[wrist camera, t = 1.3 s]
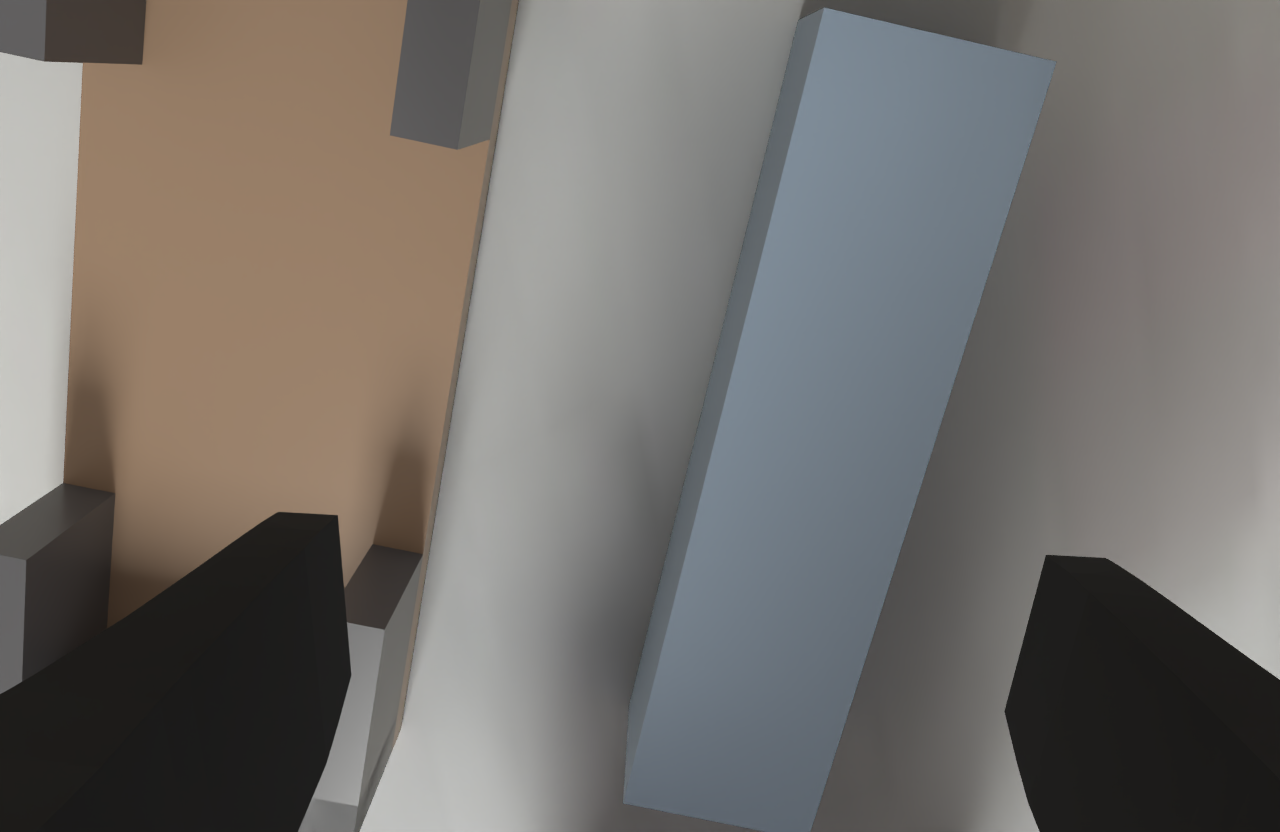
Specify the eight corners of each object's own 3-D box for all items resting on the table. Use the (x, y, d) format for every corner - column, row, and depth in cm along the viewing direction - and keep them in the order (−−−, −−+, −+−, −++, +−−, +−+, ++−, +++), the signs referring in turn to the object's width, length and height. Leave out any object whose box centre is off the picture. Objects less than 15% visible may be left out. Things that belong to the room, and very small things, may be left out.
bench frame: (541, -142, 18) (510, -200, 14) (400, 729, 23) (350, 851, 19) (122, -237, 17) (-21, -321, 14) (74, 667, 23) (-39, 780, 19)
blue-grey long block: (987, 65, 19) (1056, 62, 16) (787, 730, 23) (807, 840, 20) (796, 21, 19) (824, 7, 15) (629, 698, 23) (622, 803, 20)
